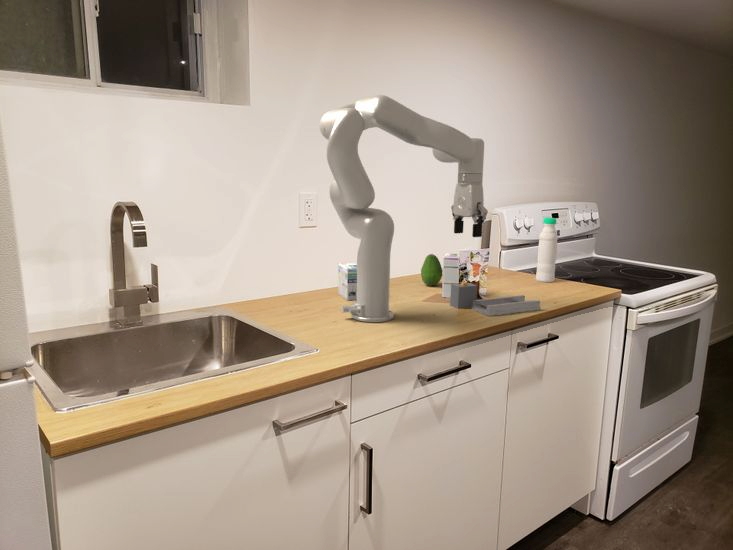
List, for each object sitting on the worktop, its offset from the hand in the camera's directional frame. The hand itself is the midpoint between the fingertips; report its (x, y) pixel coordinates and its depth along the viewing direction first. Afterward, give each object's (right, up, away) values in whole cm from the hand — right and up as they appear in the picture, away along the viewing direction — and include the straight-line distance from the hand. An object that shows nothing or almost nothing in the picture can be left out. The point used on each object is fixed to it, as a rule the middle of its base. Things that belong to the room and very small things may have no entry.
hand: (467, 234), depth 175 cm
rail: (+12, -23, +1) cm, 26 cm away
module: (-1, -23, +4) cm, 23 cm away
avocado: (-7, -17, +34) cm, 38 cm away
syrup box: (-3, -20, +18) cm, 27 cm away
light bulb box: (-37, -20, +14) cm, 44 cm away
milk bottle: (+39, -15, +47) cm, 63 cm away
